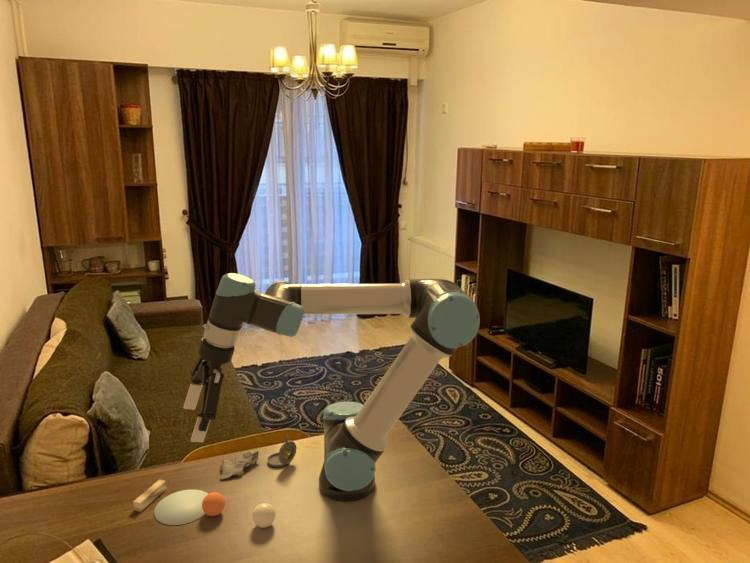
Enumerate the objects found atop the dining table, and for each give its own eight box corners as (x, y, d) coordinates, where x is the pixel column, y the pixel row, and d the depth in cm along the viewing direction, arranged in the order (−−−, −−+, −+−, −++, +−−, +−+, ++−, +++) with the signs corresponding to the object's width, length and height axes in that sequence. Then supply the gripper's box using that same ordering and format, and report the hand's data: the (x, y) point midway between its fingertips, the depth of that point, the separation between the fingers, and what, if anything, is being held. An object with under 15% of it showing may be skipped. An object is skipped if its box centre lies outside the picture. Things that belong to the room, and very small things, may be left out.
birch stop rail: (160, 487, 149) (159, 479, 149) (166, 489, 149) (165, 480, 148) (134, 510, 140) (133, 501, 139) (140, 511, 139) (139, 503, 139)
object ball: (224, 504, 142) (222, 485, 141) (227, 517, 137) (225, 498, 136) (201, 509, 140) (200, 490, 139) (203, 523, 135) (202, 503, 134)
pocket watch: (270, 455, 165) (268, 424, 162) (298, 455, 165) (297, 424, 162) (264, 471, 157) (262, 439, 154) (293, 471, 157) (292, 439, 154)
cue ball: (273, 515, 138) (272, 496, 137) (278, 529, 133) (277, 509, 132) (250, 521, 136) (249, 501, 135) (255, 535, 131) (253, 514, 130)
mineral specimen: (263, 473, 157) (264, 460, 156) (220, 482, 152) (221, 468, 151) (257, 461, 163) (258, 448, 162) (215, 469, 157) (216, 456, 156)
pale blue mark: (209, 485, 150) (209, 484, 150) (215, 516, 138) (215, 515, 138) (153, 497, 145) (153, 496, 145) (154, 531, 133) (154, 530, 132)
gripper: (194, 316, 132) (170, 394, 137) (211, 364, 111) (182, 455, 115) (225, 321, 136) (201, 398, 140) (247, 369, 115) (218, 457, 119)
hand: (192, 424), depth 128 cm, fingers open, 13 cm apart
